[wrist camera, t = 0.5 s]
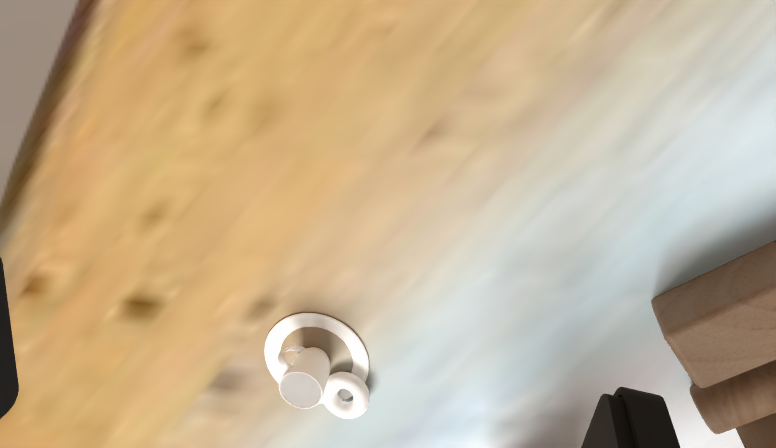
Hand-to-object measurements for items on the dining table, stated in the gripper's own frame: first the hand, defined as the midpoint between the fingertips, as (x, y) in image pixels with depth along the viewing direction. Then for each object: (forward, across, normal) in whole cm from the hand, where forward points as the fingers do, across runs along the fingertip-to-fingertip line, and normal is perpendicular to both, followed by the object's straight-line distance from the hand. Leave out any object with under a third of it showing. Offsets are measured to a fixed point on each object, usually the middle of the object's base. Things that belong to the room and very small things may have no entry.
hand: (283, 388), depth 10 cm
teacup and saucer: (+31, +6, +26) cm, 41 cm away
